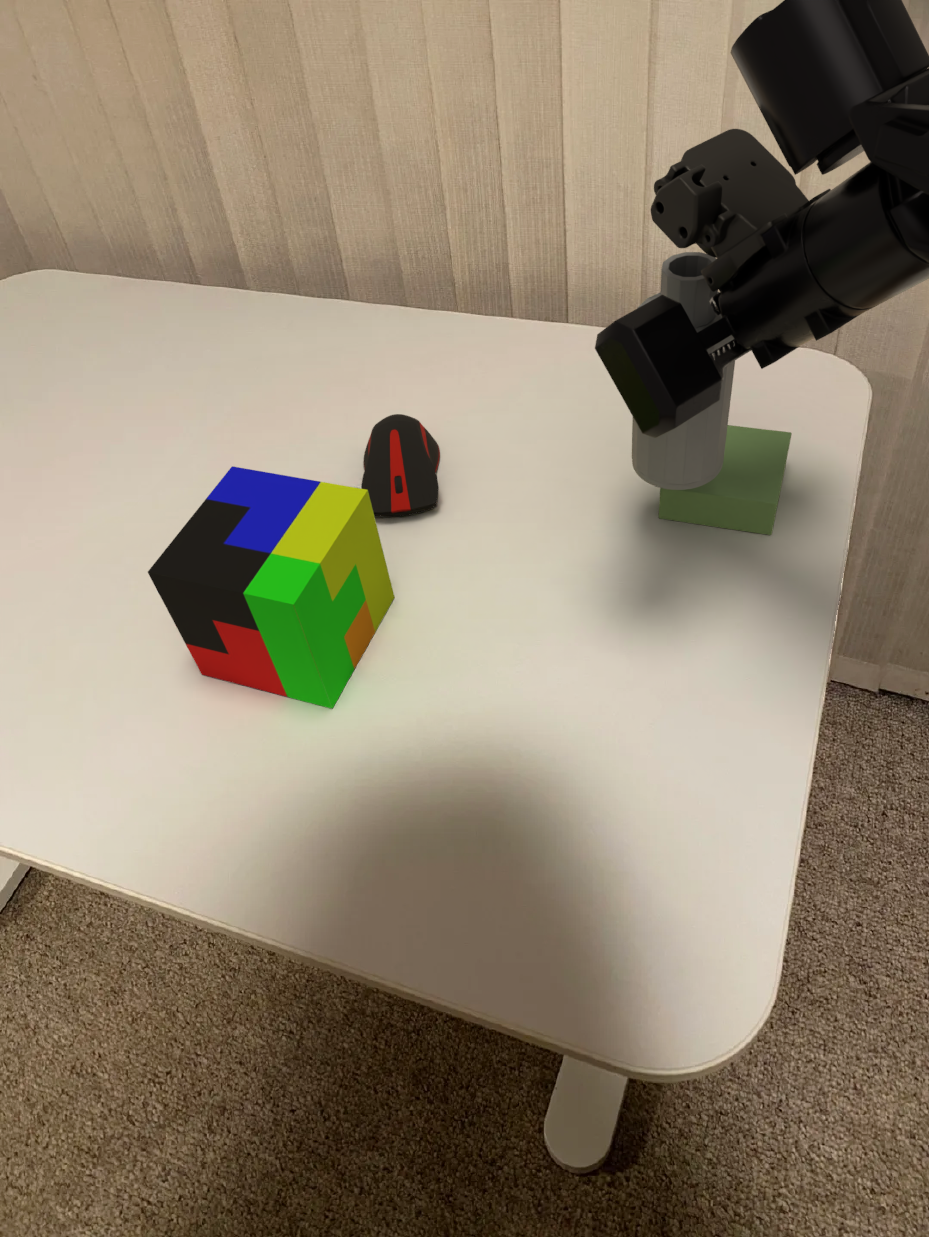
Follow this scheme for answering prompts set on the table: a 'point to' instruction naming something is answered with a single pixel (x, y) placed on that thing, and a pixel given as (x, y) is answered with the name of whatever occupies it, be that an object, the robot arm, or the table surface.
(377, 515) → the computer mouse
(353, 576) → the puzzle toy
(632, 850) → the table surface
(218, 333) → the table surface
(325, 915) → the table surface
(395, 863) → the table surface
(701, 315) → the flask
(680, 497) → the green block
